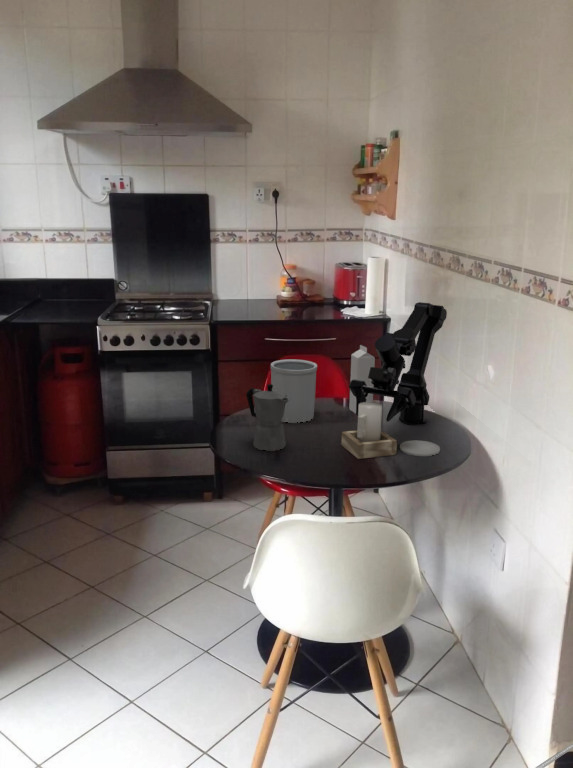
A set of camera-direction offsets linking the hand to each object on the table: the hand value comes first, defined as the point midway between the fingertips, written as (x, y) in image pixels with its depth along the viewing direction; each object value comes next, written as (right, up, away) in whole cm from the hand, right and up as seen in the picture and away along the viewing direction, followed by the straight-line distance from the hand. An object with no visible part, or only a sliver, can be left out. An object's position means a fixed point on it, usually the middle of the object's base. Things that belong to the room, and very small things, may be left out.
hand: (371, 417), depth 186 cm
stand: (-1, -9, +1) cm, 9 cm away
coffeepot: (-29, -8, +4) cm, 31 cm away
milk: (+1, 0, +38) cm, 38 cm away
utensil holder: (-22, -1, +30) cm, 37 cm away
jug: (-2, -9, 0) cm, 9 cm away
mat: (+14, -9, +2) cm, 17 cm away
